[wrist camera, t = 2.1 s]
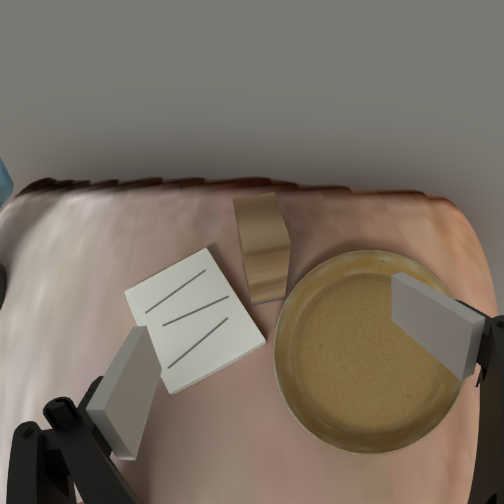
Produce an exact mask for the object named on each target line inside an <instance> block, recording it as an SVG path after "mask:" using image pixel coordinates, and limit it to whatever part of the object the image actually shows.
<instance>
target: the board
mask: <svg viewBox="0 0 504 504" xmlns="http://www.w3.org/2000/svg"><path fill="white" fill-rule="evenodd" d="M125 295H126V298H127V300H128V303H129V305H130V308H131V311H132V313H133V316H134V318H135V320H136V323H137V325H138V327H139V326H146V325H147V328H148V331H149V334H150V337H151V340H152V343H153V346H154V348H155V351H156V354H157V357H158V359H159V362H160V365H161V367H162V372H161V375H160V376H161V378H162V380H163V382H164V384H165V386H166V388H167V390H168V392H169V393H170V394H173V395H174V394H176V393H178V392H180V391H182V390H184V389H186V388H188V387H190V386H192V385H194V384H195V383H197V382H199V381H201V380H203V379H205V378H207V377H209V376H211V375H212V374H214V373H216V372H218V371H220V370H222V369H223V368H225V367H227V366H229V365H231V364H232V363H234V362H236V361H238V360H239V359H241V358H243V357H245V356H246V355H248V354H250V353H251V352H253V351H255V350H257V349H258V348H260V347H262V346H263V345H265V344H266V340H265V338H264V337H263V335H262V334H261V332H260V331H259V329H258V328H257V326H256V325H255V323H254V322H253V320H252V319H251V317H250V316H249V314H248V312H247V311H246V309H245V308H244V306H243V305H242V303H241V302H240V300H239V299H238V297H237V295H236V294H235V292H234V291H233V289H232V288H231V286H230V284H229V283H228V281H227V280H226V278H225V277H224V275H223V273H222V272H221V270H220V269H219V267H218V265H217V264H216V262H215V261H214V259H213V257H212V256H211V254H210V253H209V251H208V249H207V248H204V249H202V250H200V251H199V252H197V253H195V254H193V255H191V256H189V257H187V258H185V259H184V260H182V261H180V262H178V263H176V264H174V265H172V266H171V267H169V268H167V269H165V270H163V271H161V272H159V273H158V274H156V275H154V276H152V277H150V278H148V279H147V280H145V281H143V282H141V283H139V284H137V285H136V286H134V287H132V288H130V289H128V290H127V291H125Z"/></svg>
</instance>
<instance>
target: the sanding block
mask: <svg viewBox="0 0 504 504" xmlns="http://www.w3.org/2000/svg"><path fill="white" fill-rule="evenodd" d="M233 204H234V210H235V217H236V223H237V230H238V236H239V242H240V249H241V255H242V261H243V266H244V271H245V276H246V281H247V285H248V290H249V295H250V299H251V304H252V305H257V304H262V303H267V302H271V301H276V300H281V299H285V293H286V285H287V277H288V268H289V260H290V251H291V241H290V238H289V235H288V231H287V228H286V225H285V222H284V219H283V216H282V213H281V210H280V207H279V204H278V201H277V198H276V195H275V192H271V193H265V194H259V195H254V196H248V197H243V198H237V199H233Z"/></svg>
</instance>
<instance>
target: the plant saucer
mask: <svg viewBox="0 0 504 504" xmlns="http://www.w3.org/2000/svg"><path fill="white" fill-rule="evenodd" d="M401 272H403V273H405V274H407V275H409V276H411V277H413V278H415V279H417V280H418V281H420V282H422V283H424V284H426V285H428V286H430V287H432V288H433V289H435V290H437V291H439V292H441V293H443V294H444V295H446V296H448V297H450V298H452V299H454V298H453V296H452V294H451V293H450V292H449V290H448V289H447V287H446V286H445V285H444V284H443V283H442V282H441V280H440V279H439V278H438V277H436V276H435V275H434V274H433V273H432V272H431V271H429V270H428V269H427V268H425V267H424V266H422V265H421V264H419V263H418V262H416V261H414V260H412V259H410V258H408V257H405V256H403V255H400V254H397V253H393V252H389V251H382V250H357V251H352V252H347V253H343V254H340V255H338V256H335V257H332V258H330V259H328V260H326V261H324V262H323V263H321V264H319V265H318V266H316V267H315V268H313V269H312V270H311V271H310V272H308V273H307V274H306V275H305V276H304V277H303V278H302V279H301V280H300V281H299V282H298V284H297V285H296V286H295V287H294V289H293V290H292V291H291V293H290V294H289V296H288V298H287V299H286V301H285V303H284V305H283V307H282V309H281V312H280V314H279V317H278V320H277V324H276V327H275V333H274V339H273V366H274V372H275V377H276V381H277V385H278V388H279V391H280V393H281V396H282V398H283V400H284V402H285V404H286V406H287V408H288V409H289V411H290V412H291V414H292V415H293V417H294V418H295V419H296V421H297V422H298V423H299V424H300V425H301V426H302V427H303V428H304V429H305V430H306V431H307V432H308V433H309V434H310V435H312V436H313V437H314V438H316V439H317V440H319V441H320V442H322V443H324V444H326V445H328V446H329V447H331V448H334V449H337V450H339V451H342V452H346V453H350V454H355V455H366V456H373V455H383V454H389V453H393V452H396V451H400V450H402V449H405V448H407V447H409V446H411V445H413V444H415V443H417V442H419V441H420V440H422V439H423V438H425V437H426V436H428V435H429V434H430V433H431V432H433V431H434V430H435V429H436V428H437V427H438V426H439V425H440V424H441V423H442V422H443V421H444V419H445V418H446V417H447V416H448V414H449V413H450V411H451V410H452V408H453V407H454V405H455V403H456V401H457V399H458V397H459V395H460V393H461V390H462V388H463V385H464V382H465V379H464V380H462V381H461V380H460V379H458V378H457V377H456V376H455V375H454V374H453V373H452V372H451V371H450V370H448V369H447V368H446V367H445V366H444V365H443V364H442V363H441V362H439V361H438V360H437V359H436V358H435V357H434V356H433V355H432V354H430V353H429V352H428V351H427V350H426V349H425V348H424V347H422V346H421V345H420V344H419V343H418V342H417V341H415V340H414V339H413V338H412V337H411V336H410V335H408V334H407V333H406V332H405V331H404V330H403V329H401V328H400V327H399V326H398V325H397V324H396V323H394V322H393V321H392V320H391V319H392V287H391V275H394V274H397V273H401Z"/></svg>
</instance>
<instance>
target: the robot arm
mask: <svg viewBox="0 0 504 504" xmlns="http://www.w3.org/2000/svg"><path fill="white" fill-rule="evenodd" d="M12 191H13V181H12V179H11V177H10V175H9V173H8V171H7V169H6V167H5V165H4V163H3V161H2V159H1V158H0V208H1V207H2V204H3V203H4V202H5V201H6V200H7V198H8V197H9V196H10V195H11V193H12ZM391 287H392V319H391V320H392V321H393V322H394V323H396V324H397V325H398V326H399V327H400V328H401V329H403V330H404V331H405V332H406V333H407V334H408V335H410V336H411V337H412V338H413V339H414V340H415V341H417V342H418V343H419V344H420V345H421V346H422V347H424V348H425V349H426V350H427V351H428V352H429V353H430V354H432V355H433V356H434V357H435V358H436V359H437V360H438V361H439V362H441V363H442V364H443V365H444V366H445V367H446V368H447V369H448V370H450V371H451V372H452V373H453V374H454V375H455V376H456V377H457V378H458V379H460V380H461V381H462V380H464V379H466V378H467V377H469V376H471V375H473V374H474V370H475V366H476V362H477V363H478V364H479V365H481V370H480V373H479V377H478V380H477V384H476V387H478V385H479V383H480V415H479V432H478V444H477V453H476V461H475V468H474V474H473V480H472V486H471V491H470V496H469V500H468V503H467V504H504V316H503V315H502V316H496V317H494V318H491V317H489V316H487V315H486V314H484V313H482V312H480V311H479V310H477V309H476V310H475V308H473V307H472V306H469V305H468V304H466V303H464V302H462V301H459V300H455V299H452V298H450V297H448V296H446V295H444V294H443V293H441V292H439V291H437V290H435V289H433V288H432V287H430V286H428V285H426V284H424V283H422V282H420V281H418V280H417V279H415V278H413V277H411V276H409V275H407V274H405V273H403V272H401V273H397V274H394V275H391ZM5 288H6V273H5V269H4V267H3V265H2V264H1V263H0V307H1V305H2V302H3V298H4V294H5ZM161 372H162V367H161V365H160V362H159V359H158V357H157V354H156V351H155V348H154V346H153V343H152V340H151V337H150V334H149V331H148V328H147V325H146V326H139V327H133V329H132V330H131V332H130V333H129V335H128V337H127V338H126V340H125V342H124V343H123V345H122V347H121V348H120V350H119V352H118V353H117V355H116V357H115V358H114V360H113V362H112V363H111V365H110V367H109V368H108V370H107V372H106V374H105V375H104V376H99V377H98V378H97V379H96V380H95V381H93V382H92V384H91V385H90V387H89V389H88V391H87V392H86V394H85V395H84V396H85V397H83V399H82V400H81V402H80V404H79V406H78V407H77V408H76V406H75V405H74V403H73V401H72V400H71V399H70V398H68V397H58V398H55V399H53V400H51V401H50V402H48V403H47V404H46V405H45V407H44V409H43V415H44V416H45V418H46V419H47V421H48V422H49V424H50V425H51V427H52V428H53V429H48V430H41V429H40V427H39V426H38V424H37V423H36V422H33V421H28V422H25V423H22V424H21V425H19V426H18V427H17V428H16V429H15V431H14V434H13V440H12V446H11V453H10V461H9V469H8V480H7V496H6V504H77V501H76V495H75V489H74V483H75V485H76V487H77V489H78V492H79V494H80V496H81V498H82V500H83V502H84V504H143V503H142V502H141V501H140V499H139V498H138V497H137V496H136V494H135V493H134V492H133V490H132V489H131V488H130V486H129V485H128V483H127V482H126V481H125V479H124V478H123V476H122V475H121V473H120V472H119V471H118V469H117V468H116V466H115V465H114V463H113V462H112V460H111V459H110V458H109V457H110V454H111V451H113V452H114V454H115V455H116V457H117V458H118V459H120V460H136V457H137V454H138V450H139V446H140V443H141V439H142V435H143V432H144V428H145V425H146V421H147V418H148V414H149V411H150V408H151V404H152V401H153V398H154V394H155V391H156V388H157V384H158V381H159V378H160V375H161ZM73 481H74V482H73Z"/></svg>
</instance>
